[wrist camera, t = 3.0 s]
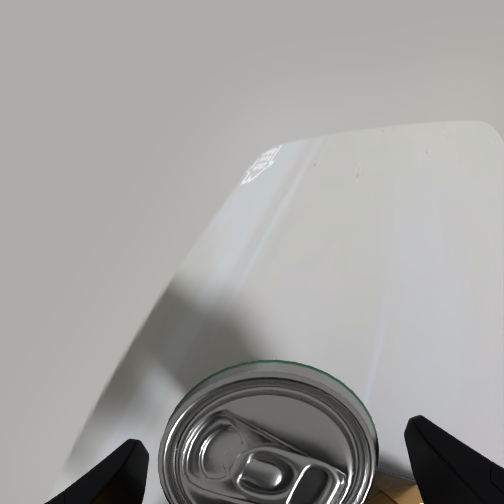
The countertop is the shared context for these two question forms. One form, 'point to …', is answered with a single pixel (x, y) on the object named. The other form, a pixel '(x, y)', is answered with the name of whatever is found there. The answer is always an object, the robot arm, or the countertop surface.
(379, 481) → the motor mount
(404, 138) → the countertop surface
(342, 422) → the soda can
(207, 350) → the countertop surface
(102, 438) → the countertop surface
